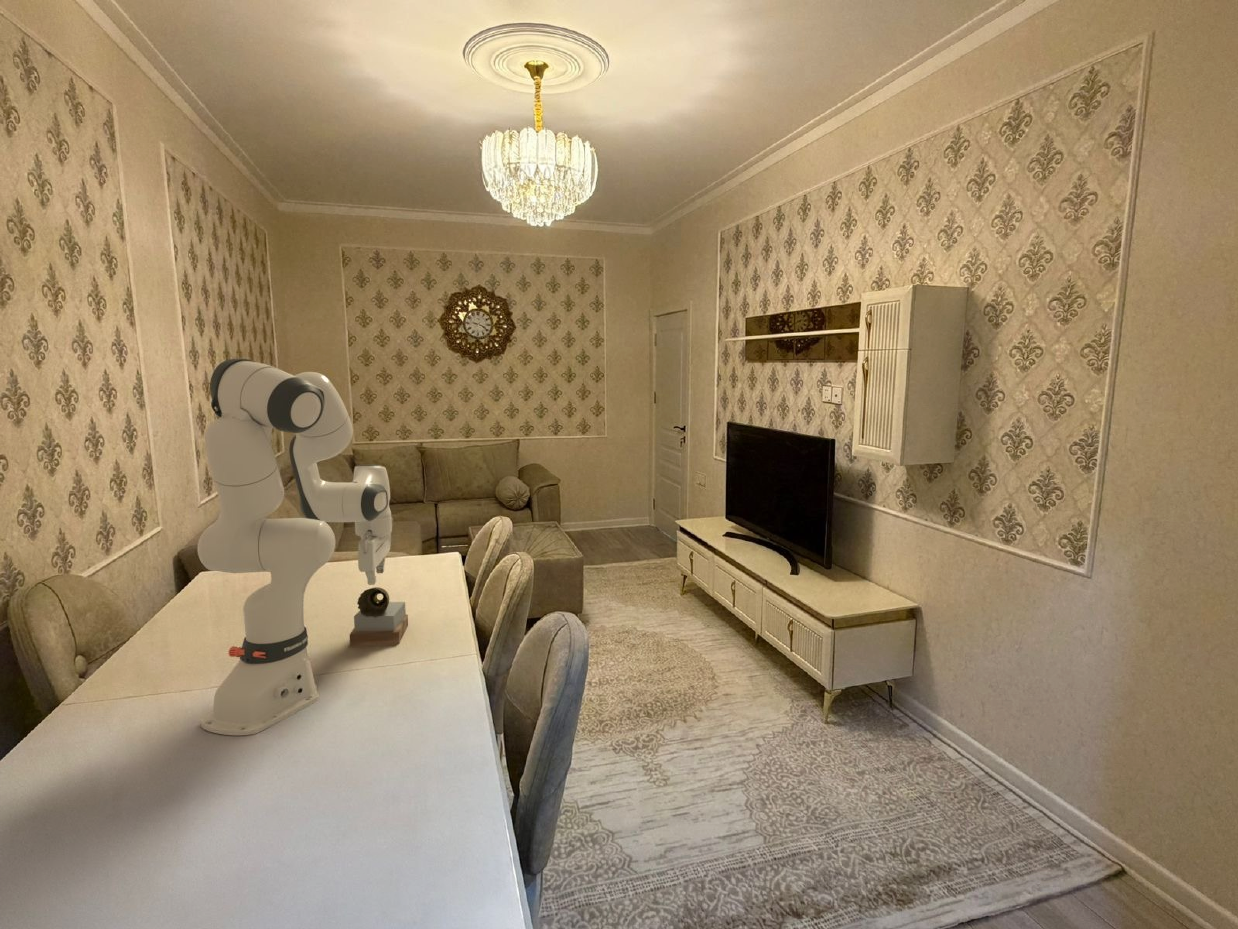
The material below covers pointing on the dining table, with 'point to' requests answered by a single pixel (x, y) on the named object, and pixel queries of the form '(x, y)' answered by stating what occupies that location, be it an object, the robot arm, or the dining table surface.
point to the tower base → (378, 636)
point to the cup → (373, 602)
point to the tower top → (382, 619)
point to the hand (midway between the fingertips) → (376, 578)
